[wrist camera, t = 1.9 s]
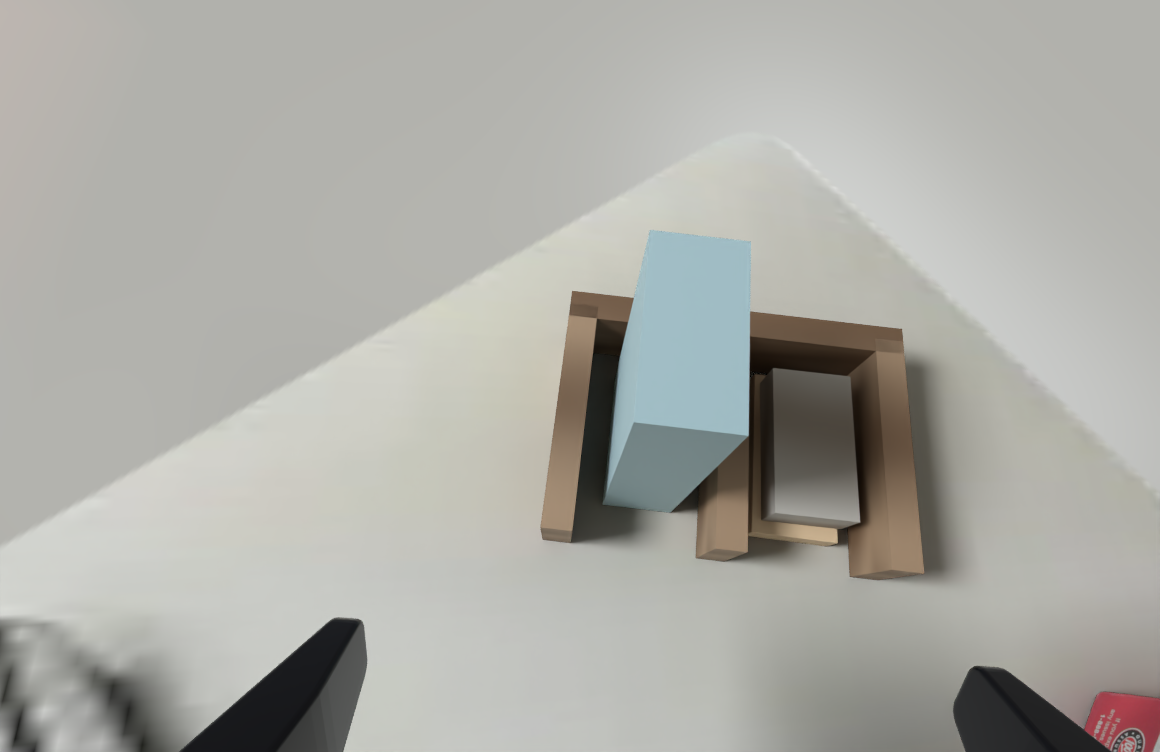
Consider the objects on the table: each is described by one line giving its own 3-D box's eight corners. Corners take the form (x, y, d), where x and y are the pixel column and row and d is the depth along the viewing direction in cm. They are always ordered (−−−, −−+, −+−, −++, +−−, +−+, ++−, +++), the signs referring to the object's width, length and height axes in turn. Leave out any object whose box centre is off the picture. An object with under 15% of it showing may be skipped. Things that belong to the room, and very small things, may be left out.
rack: (877, 580, 22) (924, 573, 19) (542, 539, 22) (540, 527, 19) (863, 361, 25) (902, 328, 22) (570, 327, 25) (572, 291, 23)
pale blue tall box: (670, 512, 23) (748, 435, 13) (602, 504, 23) (633, 422, 13) (677, 386, 25) (750, 241, 15) (614, 378, 25) (650, 229, 15)
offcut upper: (840, 528, 22) (860, 522, 20) (761, 520, 22) (775, 512, 20) (833, 391, 24) (850, 376, 22) (760, 383, 24) (772, 367, 22)
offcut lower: (820, 548, 23) (837, 543, 22) (740, 537, 23) (752, 532, 22) (817, 397, 25) (832, 384, 24) (743, 387, 25) (754, 373, 24)
